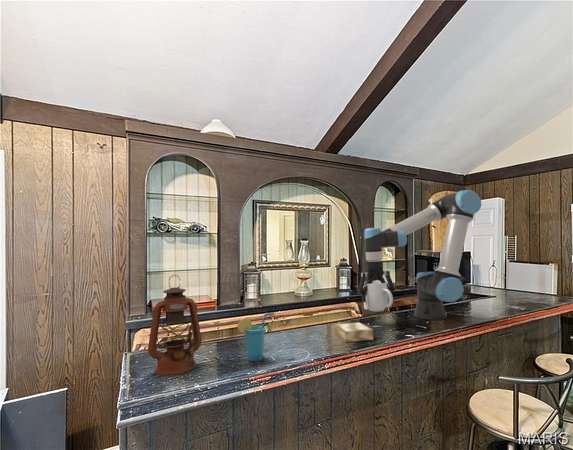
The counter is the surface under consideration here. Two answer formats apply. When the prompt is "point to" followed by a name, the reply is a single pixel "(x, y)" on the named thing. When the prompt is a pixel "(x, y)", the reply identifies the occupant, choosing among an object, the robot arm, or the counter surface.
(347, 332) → the pedestal
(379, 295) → the mug
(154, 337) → the lantern
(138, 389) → the counter surface
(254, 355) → the cup
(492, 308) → the counter surface
